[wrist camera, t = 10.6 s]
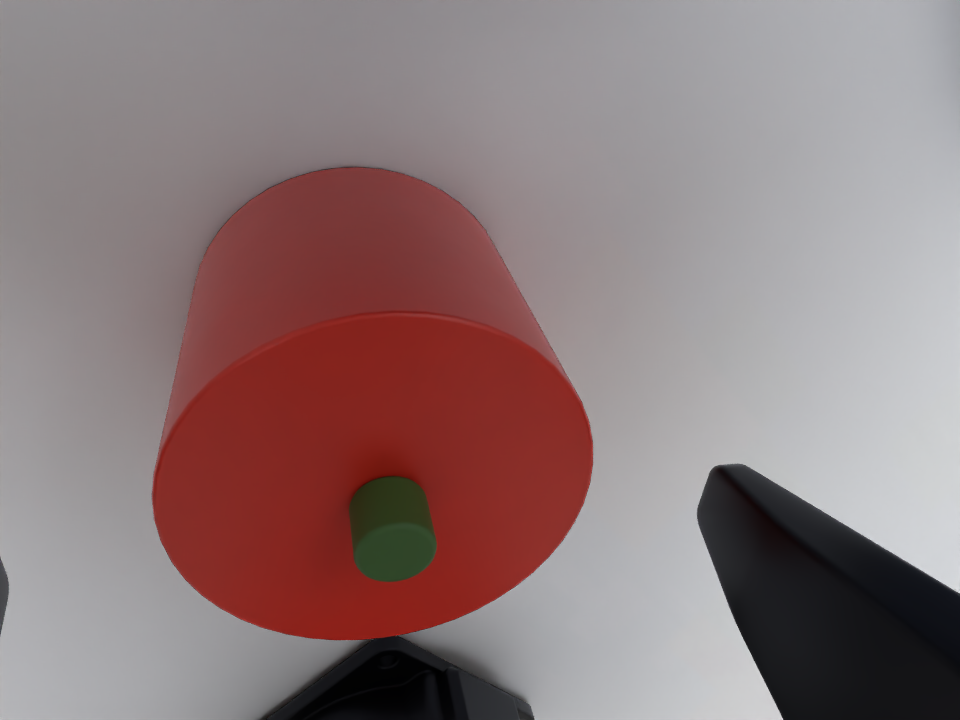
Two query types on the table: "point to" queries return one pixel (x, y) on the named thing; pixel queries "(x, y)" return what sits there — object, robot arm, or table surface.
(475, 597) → the red cylinder with peg
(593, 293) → the table surface
